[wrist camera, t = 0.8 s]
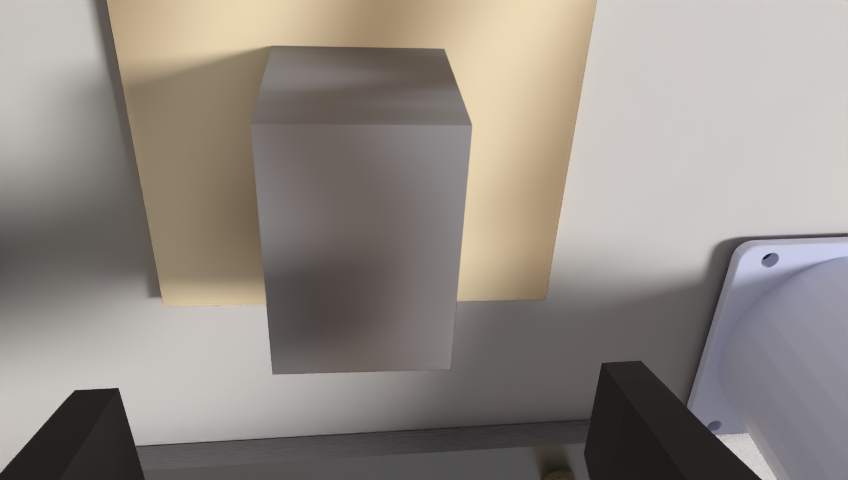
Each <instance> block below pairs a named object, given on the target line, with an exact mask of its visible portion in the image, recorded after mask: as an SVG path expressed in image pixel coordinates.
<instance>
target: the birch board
mask: <svg viewBox="0 0 848 480" xmlns="http://www.w3.org/2000/svg"><path fill="white" fill-rule="evenodd" d="M596 3H597V0H107V5H108V11H109V16H110V22H111V27H112V32H113V38H114V43H115V49H116V54H117V59H118V65H119V70H120V75H121V81H122V86H123V92H124V97H125V102H126V108H127V113H128V118H129V124H130V129H131V135H132V140H133V145H134V151H135V156H136V162H137V167H138V172H139V178H140V183H141V188H142V194H143V199H144V205H145V210H146V215H147V221H148V226H149V231H150V237H151V242H152V248H153V253H154V258H155V264H156V269H157V275H158V280H159V285H160V291H161V296H162V301H163V307H164V306H218V305H267V317H268V328H269V339H270V351H271V362H272V373H273V374H305V373H341V372H376V371H412V370H447V369H451V359H452V348H453V337H454V326H455V314H456V303H457V301H491V300H545V298H546V292H547V287H548V281H549V275H550V269H551V263H552V258H553V252H554V246H555V240H556V234H557V229H558V223H559V217H560V211H561V205H562V200H563V194H564V188H565V182H566V177H567V171H568V165H569V159H570V153H571V148H572V142H573V136H574V130H575V124H576V119H577V113H578V107H579V101H580V95H581V90H582V84H583V78H584V72H585V66H586V61H587V55H588V49H589V43H590V37H591V32H592V26H593V20H594V14H595V8H596Z"/></svg>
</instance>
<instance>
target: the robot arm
mask: <svg viewBox="0 0 848 480" xmlns="http://www.w3.org/2000/svg"><path fill="white" fill-rule="evenodd" d="M770 253H771V255H770V256H769V257H768V258H766V259H764V260H762V259H763V257H764V256H766V255H767V254H770ZM737 433H749V435H750V436H751V438H752V440H753V441H754V443H755V444H756V446H757V448H758V449H759V451H760V453H761V454H762V456H763V457H764V459H765V461H766V462H767V464H768V466H769V467H770V469H771V470H772V472H773V474H774V475H775V477H776V479H777V480H848V237H828V238H801V239H774V240H752V241H747V242H745V243H743V244H741V245H740V246H738V247H737V248H736V249H735V251H734V253H733V255H732V258H731V261H730V265H729V268H728V271H727V275H726V278H725V281H724V285H723V288H722V291H721V295H720V298H719V301H718V305H717V308H716V311H715V315H714V318H713V321H712V324H711V328H710V331H709V334H708V338H707V341H706V344H705V348H704V351H703V354H702V358H701V361H700V364H699V368H698V371H697V374H696V378H695V381H694V384H693V388H692V391H691V394H690V397H689V401H688V404H687V407H686V406H685V405H684V404H683V403H682V402H681V401H680V400H679V399H678V398H677V397H676V396H675V395H674V394H673V393H672V392H671V391H670V390H669V389H668V388H667V387H666V386H665V385H664V384H663V383H662V382H661V381H660V380H659V379H658V378H657V377H656V376H655V375H654V374H653V373H652V372H651V371H650V370H649V369H648V368H647V367H646V366H645V365H644V364H643V363H642V362H641V361H629V362H610V363H602V366H601V371H600V376H599V381H598V386H597V391H596V395H595V400H594V405H593V410H592V415H591V420H590V425H589V430H588V435H587V440H586V445H585V450H584V457H585V462H586V466H587V470H588V474H589V478H590V480H762V479H760V478H759V477H758V476H757V475H756V474H755V473H754V472H753V471H752V470H751V469H750V468H749V467H748V466H747V465H745V464H744V463H743V462H742V461H741V460H740V459H739V458H738V457H737V456H736V455H735V454H734V453H733V452H732V451H731V450H730V449H729V448H727V447H726V446H725V445H724V444H723V443H722V442H721V441H720V440H719V439H718V438H717V437H716V436H715V435H721V434H737ZM0 480H145V477H144V474H143V471H142V467H141V464H140V460H139V457H138V454H137V450H136V447H135V443H134V440H133V436H132V433H131V430H130V426H129V423H128V419H127V416H126V412H125V409H124V406H123V402H122V399H121V395H120V392H119V388H111V389H92V390H75V391H74V392H73V393H72V394H71V395H70V396H69V397H68V398H67V399H66V400H65V401H64V402H63V404H62V405H61V406H60V407H59V408H58V409H57V410H56V411H55V412H54V414H53V415H52V416H51V417H50V418H49V419H48V420H47V421H46V423H45V424H44V425H43V426H42V427H41V428H40V429H39V431H38V432H37V433H36V434H35V435H34V436H33V437H32V438H31V440H30V441H29V442H28V443H27V444H26V445H25V446H24V447H23V449H22V450H21V451H20V452H19V453H18V454H17V455H16V456H15V458H14V459H13V460H12V461H11V462H10V463H9V464H8V465H7V466H6V468H5V469H4V470H3V471H2V472H1V473H0Z"/></svg>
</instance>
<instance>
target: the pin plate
mask: <svg viewBox="0 0 848 480" xmlns="http://www.w3.org/2000/svg"><path fill="white" fill-rule="evenodd" d="M589 425H590V420H585V421H568V422H551V423H534V424H517V425H500V426H483V427H466V428H449V429H432V430H415V431H398V432H381V433H364V434H347V435H330V436H313V437H295V438H278V439H261V440H244V441H227V442H210V443H193V444H176V445H159V446H142V447H136V450H137V454H138V457H139V460H140V464H141V467H142V471H143V474H144V477H145V480H590V478H589V474H588V470H587V466H586V462H585V457H584V450H585V445H586V440H587V435H588V430H589Z"/></svg>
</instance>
